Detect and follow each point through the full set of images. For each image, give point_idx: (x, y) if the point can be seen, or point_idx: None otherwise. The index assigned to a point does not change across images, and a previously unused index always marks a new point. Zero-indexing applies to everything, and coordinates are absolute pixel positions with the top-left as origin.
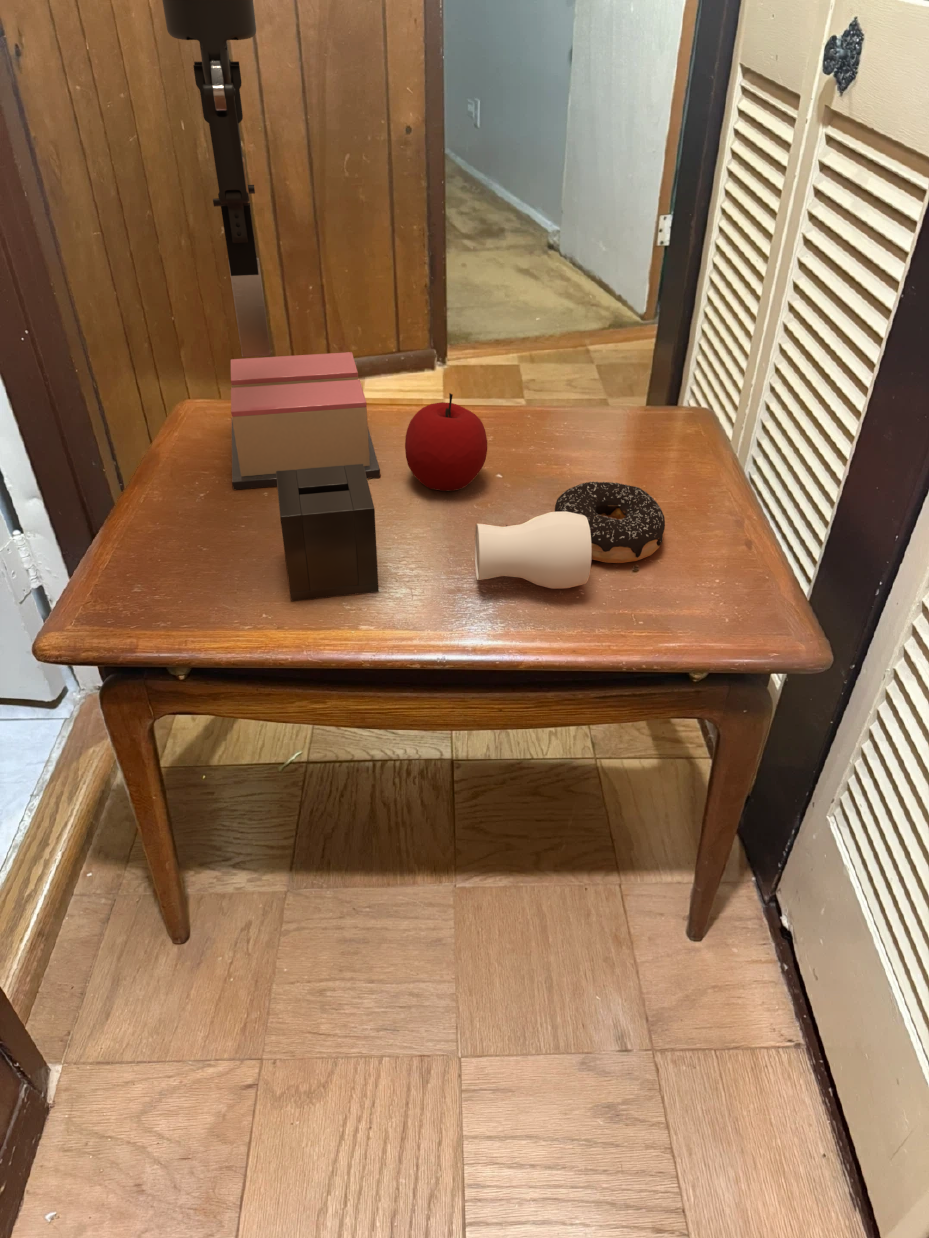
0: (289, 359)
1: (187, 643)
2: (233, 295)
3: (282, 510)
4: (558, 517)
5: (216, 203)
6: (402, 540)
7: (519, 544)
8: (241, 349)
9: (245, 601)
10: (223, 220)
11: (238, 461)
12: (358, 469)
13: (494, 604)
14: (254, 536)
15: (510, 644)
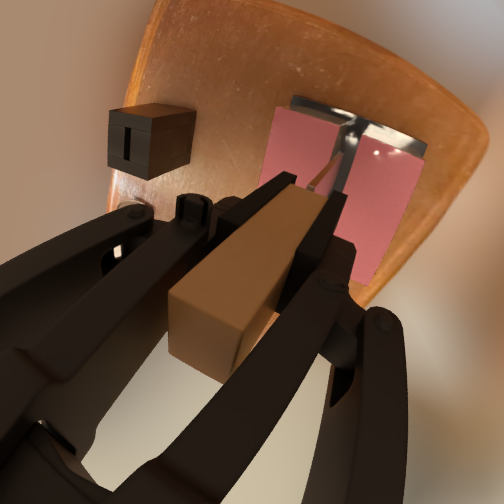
0: (387, 221)
1: (142, 47)
2: (322, 169)
3: (113, 112)
4: (115, 250)
5: (182, 202)
6: (188, 185)
7: None
8: (338, 153)
9: (161, 78)
10: (235, 204)
11: (328, 111)
12: (142, 174)
13: (132, 199)
14: (222, 94)
15: (112, 191)
